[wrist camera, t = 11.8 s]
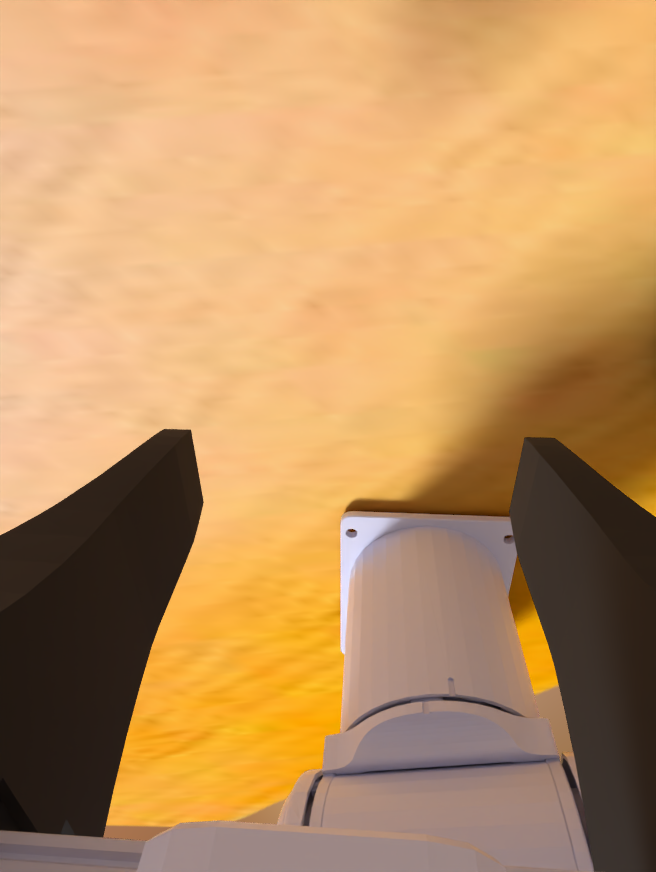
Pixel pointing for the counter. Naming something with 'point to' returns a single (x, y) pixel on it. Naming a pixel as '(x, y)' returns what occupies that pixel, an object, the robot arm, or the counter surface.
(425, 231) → the counter surface
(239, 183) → the counter surface
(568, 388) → the counter surface
